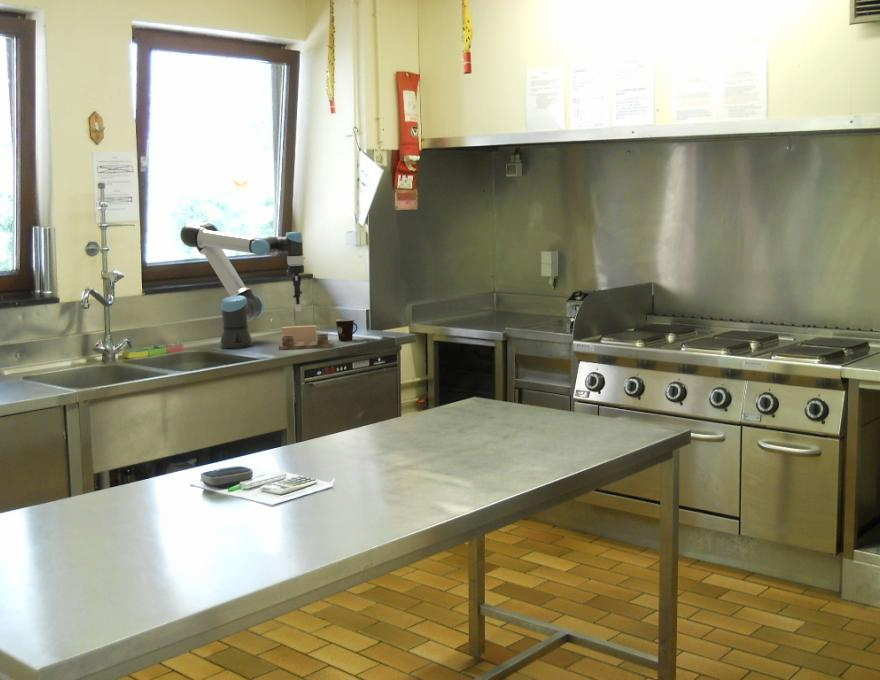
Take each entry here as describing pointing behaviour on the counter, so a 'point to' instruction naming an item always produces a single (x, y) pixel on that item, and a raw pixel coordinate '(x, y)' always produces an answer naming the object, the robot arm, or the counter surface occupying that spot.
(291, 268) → the robot arm
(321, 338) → the drying rack
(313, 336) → the clay bar
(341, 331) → the coffee mug
